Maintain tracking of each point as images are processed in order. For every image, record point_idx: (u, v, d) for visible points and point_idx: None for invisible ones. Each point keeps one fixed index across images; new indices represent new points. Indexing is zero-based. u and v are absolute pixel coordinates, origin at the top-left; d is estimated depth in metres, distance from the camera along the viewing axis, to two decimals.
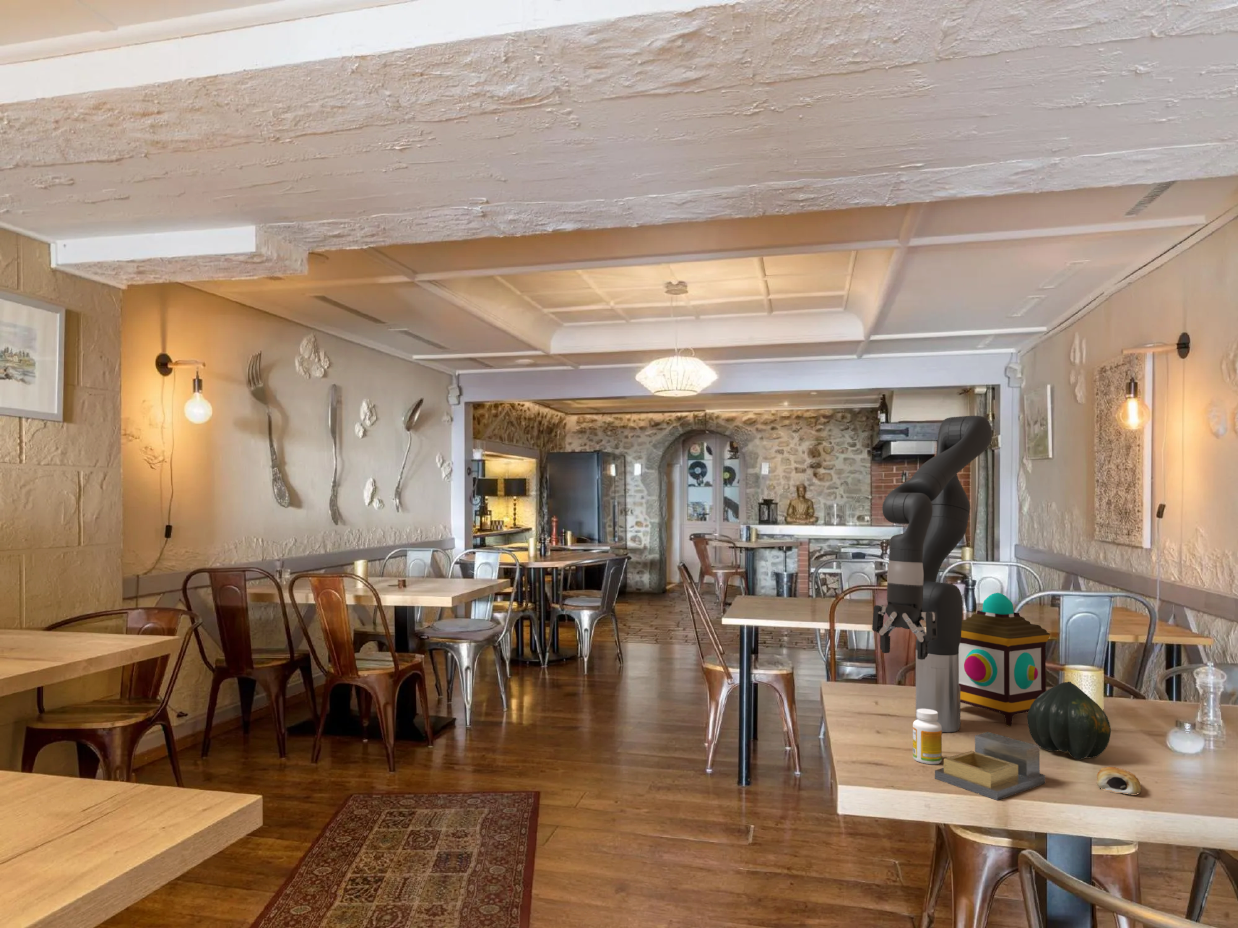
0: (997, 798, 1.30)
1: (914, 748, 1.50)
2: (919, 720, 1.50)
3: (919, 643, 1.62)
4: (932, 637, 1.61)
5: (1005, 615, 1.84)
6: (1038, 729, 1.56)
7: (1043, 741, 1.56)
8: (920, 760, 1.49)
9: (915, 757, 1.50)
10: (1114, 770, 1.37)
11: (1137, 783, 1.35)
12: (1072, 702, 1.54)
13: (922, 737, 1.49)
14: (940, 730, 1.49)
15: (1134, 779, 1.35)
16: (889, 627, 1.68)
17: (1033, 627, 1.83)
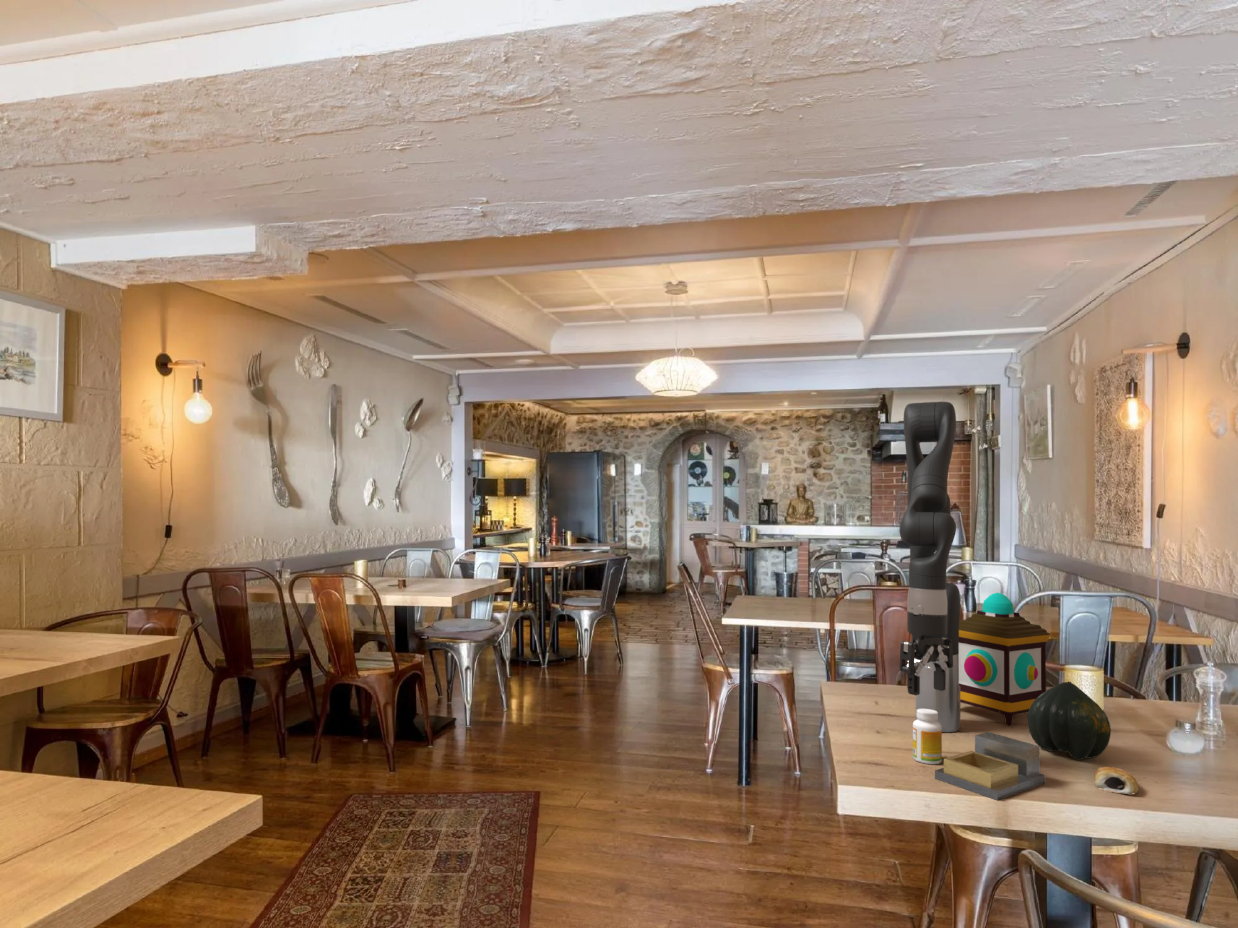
0: (997, 798, 1.30)
1: (914, 748, 1.50)
2: (919, 720, 1.50)
3: (944, 673, 1.53)
4: None
5: (1005, 615, 1.84)
6: (1038, 729, 1.56)
7: (1043, 741, 1.56)
8: (920, 760, 1.49)
9: (915, 757, 1.50)
10: (1111, 770, 1.37)
11: (1134, 783, 1.35)
12: (1072, 702, 1.54)
13: (922, 737, 1.49)
14: (940, 730, 1.49)
15: (1131, 779, 1.35)
16: None
17: (1033, 627, 1.83)
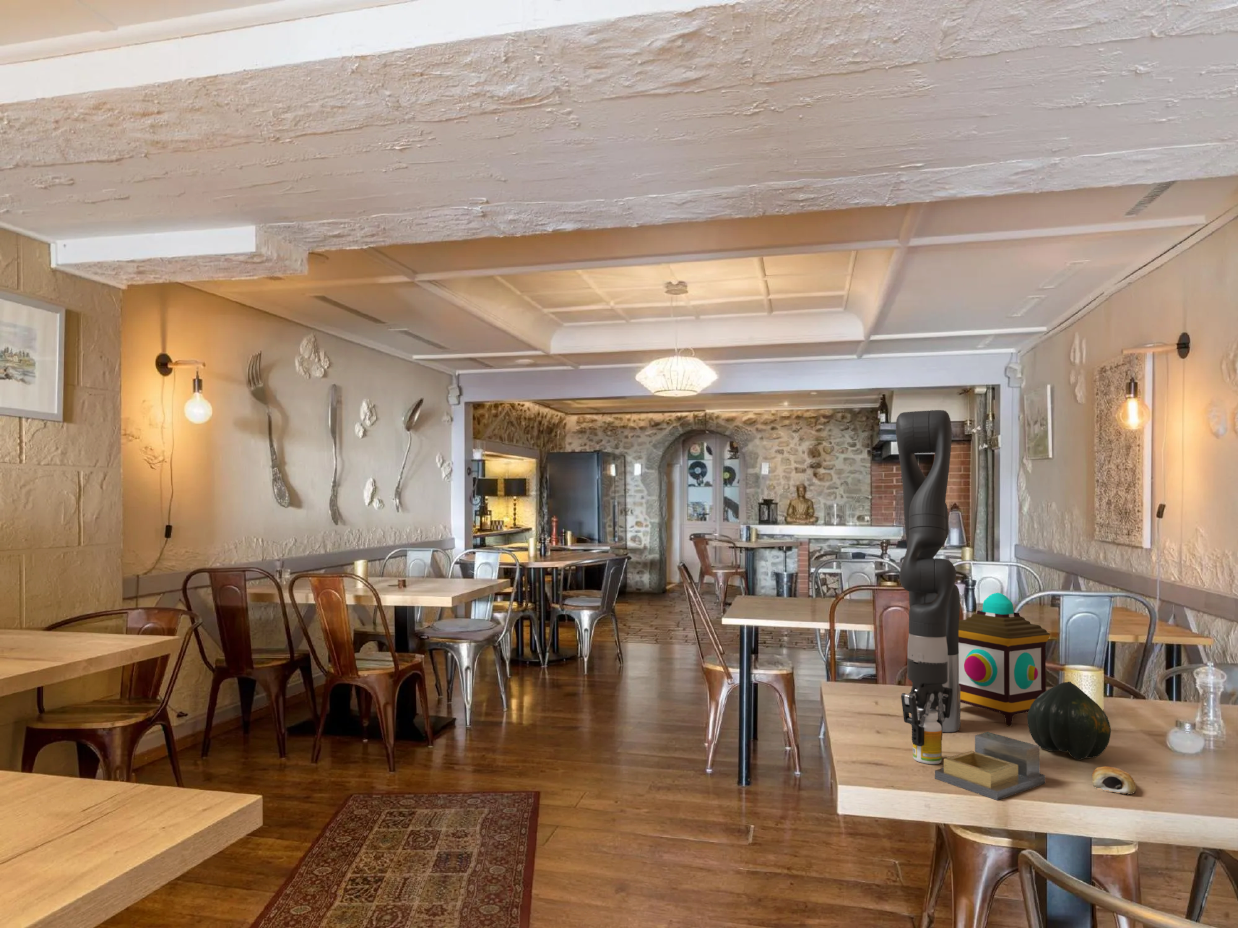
0: (997, 798, 1.30)
1: (914, 748, 1.50)
2: None
3: (941, 724, 1.52)
4: None
5: (1005, 615, 1.84)
6: (1038, 729, 1.56)
7: (1043, 741, 1.56)
8: (920, 760, 1.49)
9: (915, 757, 1.50)
10: (1109, 769, 1.38)
11: (1132, 782, 1.35)
12: (1072, 702, 1.54)
13: None
14: (940, 730, 1.49)
15: (1129, 778, 1.36)
16: None
17: (1033, 627, 1.83)
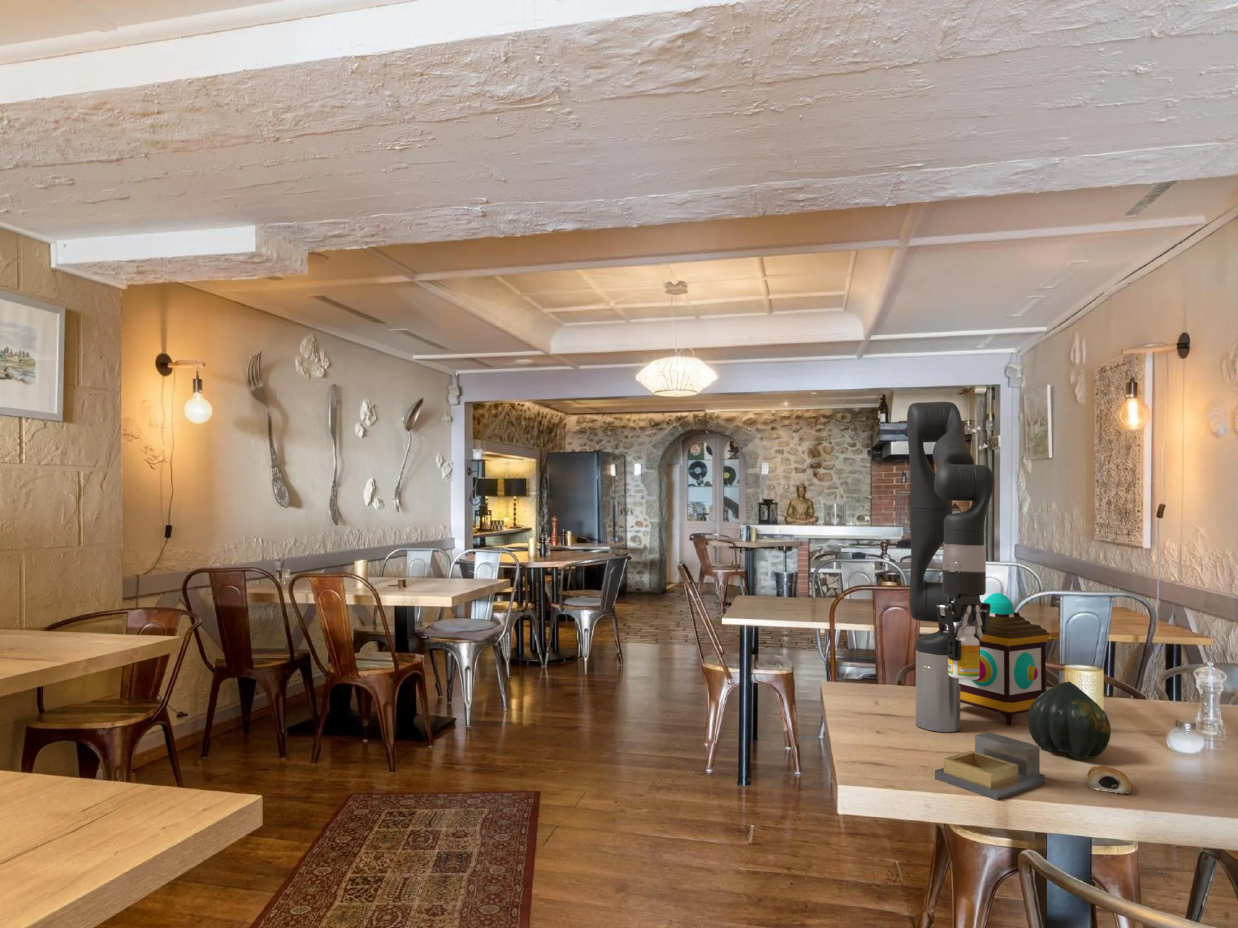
0: (997, 798, 1.30)
1: (950, 664, 1.42)
2: None
3: (979, 640, 1.43)
4: None
5: (1005, 615, 1.84)
6: (1038, 729, 1.56)
7: (1043, 741, 1.56)
8: (956, 675, 1.40)
9: (951, 673, 1.41)
10: (1105, 769, 1.38)
11: (1128, 782, 1.35)
12: (1072, 702, 1.54)
13: None
14: (978, 644, 1.40)
15: (1125, 778, 1.36)
16: None
17: (1033, 627, 1.83)
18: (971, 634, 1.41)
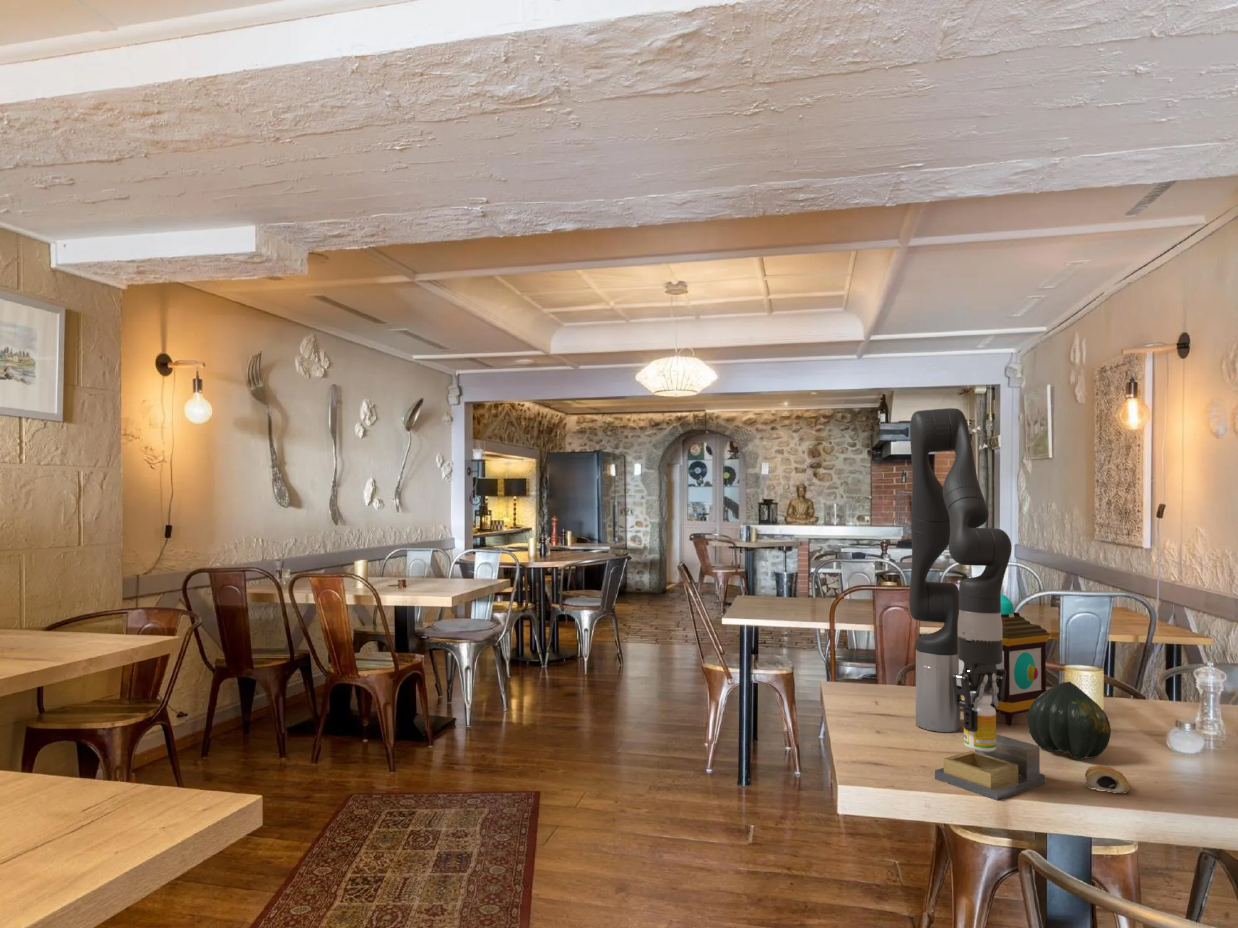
0: (997, 798, 1.30)
1: (966, 734, 1.38)
2: None
3: (995, 708, 1.40)
4: None
5: (1005, 615, 1.84)
6: (1038, 729, 1.56)
7: (1043, 741, 1.56)
8: (973, 746, 1.37)
9: (967, 744, 1.38)
10: (1103, 769, 1.38)
11: (1126, 781, 1.35)
12: (1072, 702, 1.54)
13: None
14: (995, 714, 1.37)
15: (1122, 778, 1.36)
16: None
17: (1033, 627, 1.83)
18: (988, 704, 1.37)
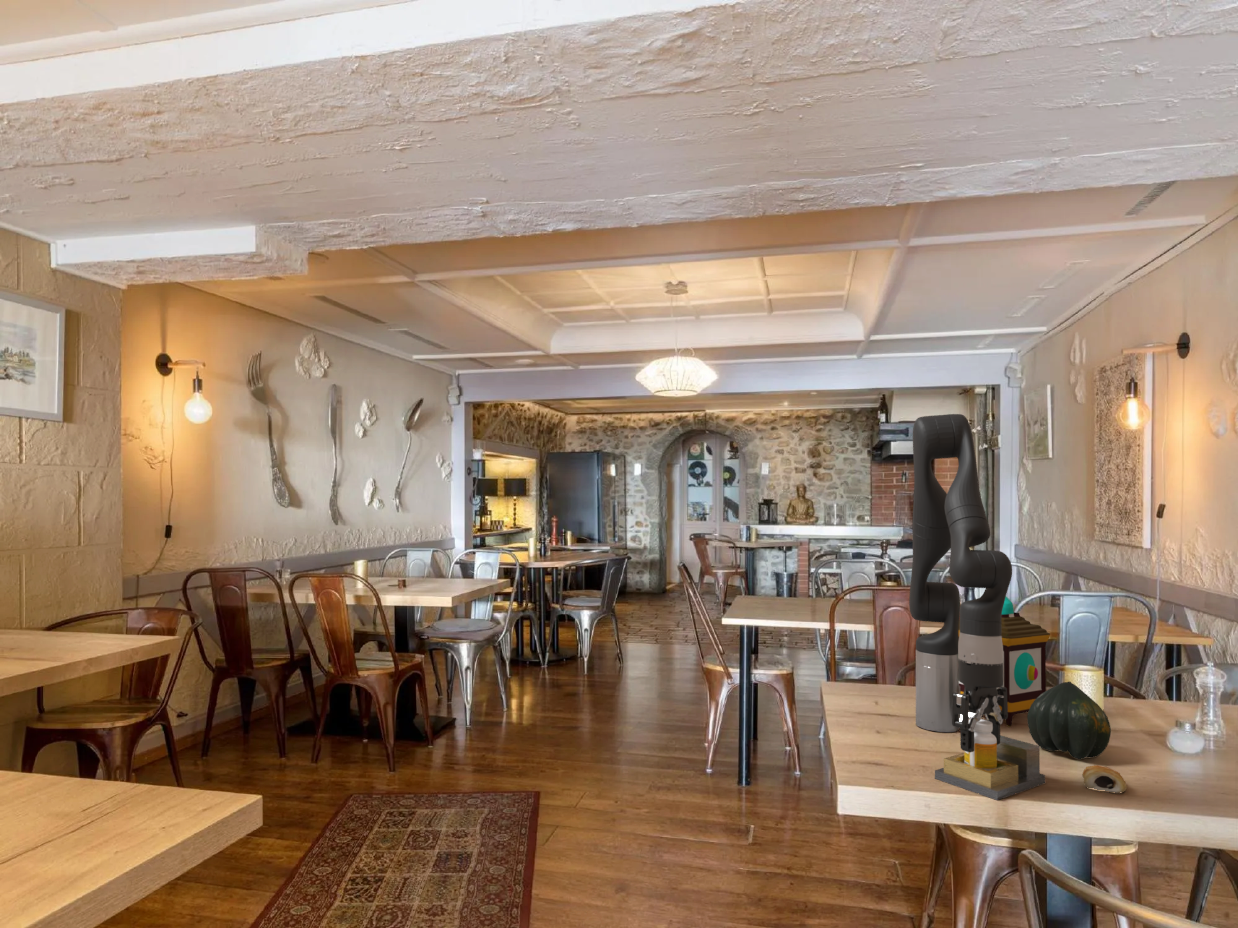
0: (997, 798, 1.30)
1: (966, 762, 1.38)
2: None
3: (999, 726, 1.40)
4: None
5: (1005, 615, 1.84)
6: (1038, 729, 1.56)
7: (1043, 741, 1.56)
8: None
9: None
10: (1100, 769, 1.38)
11: (1123, 781, 1.36)
12: (1072, 702, 1.54)
13: (976, 750, 1.36)
14: (995, 742, 1.37)
15: (1120, 777, 1.36)
16: None
17: (1033, 627, 1.83)
18: (988, 732, 1.37)
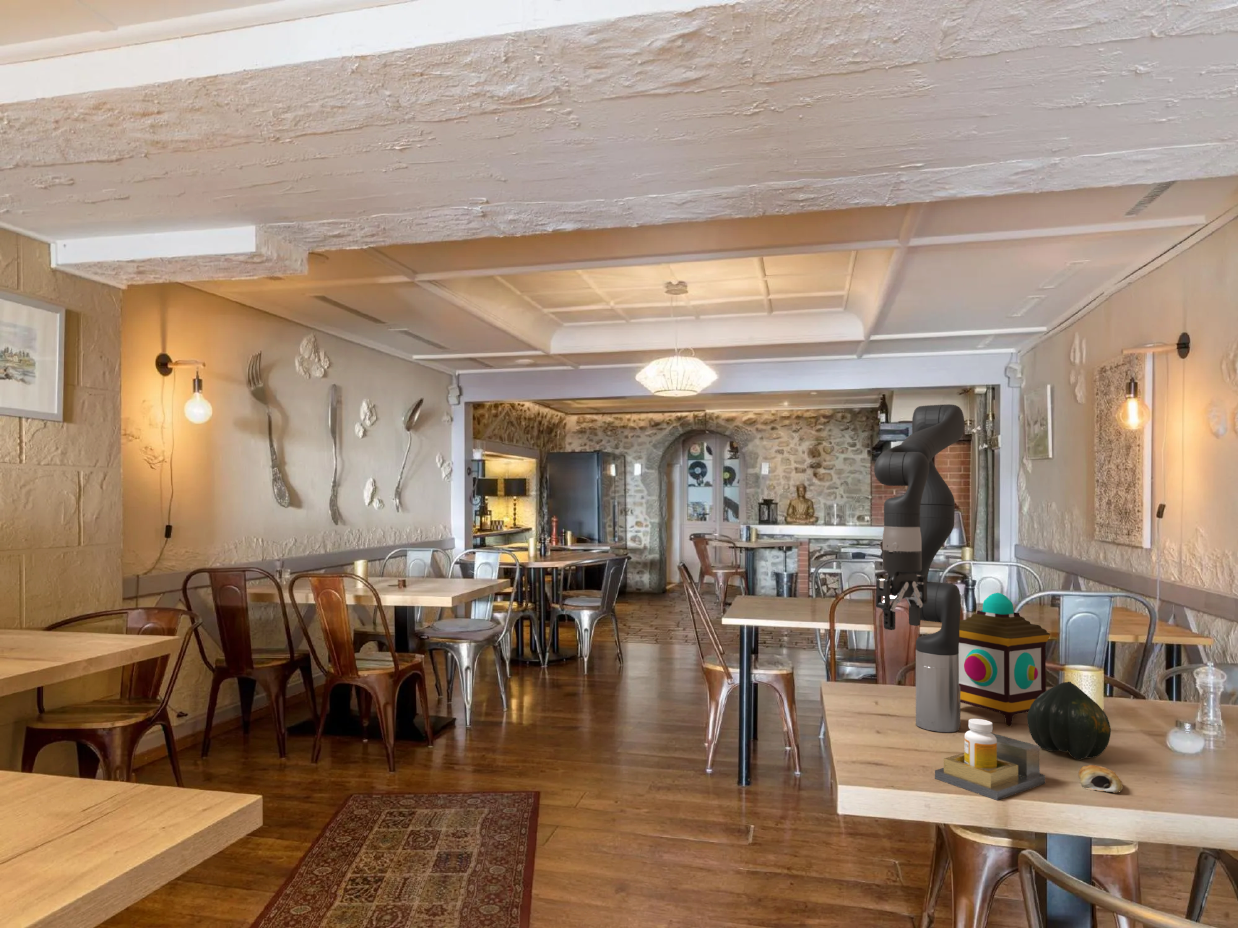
0: (997, 798, 1.30)
1: (966, 762, 1.38)
2: (972, 731, 1.38)
3: (919, 609, 1.56)
4: None
5: (1005, 615, 1.84)
6: (1038, 729, 1.56)
7: (1043, 741, 1.56)
8: None
9: None
10: (1096, 768, 1.38)
11: (1119, 781, 1.36)
12: (1072, 702, 1.54)
13: (976, 750, 1.36)
14: (995, 742, 1.37)
15: (1116, 777, 1.36)
16: None
17: (1033, 627, 1.83)
18: (988, 732, 1.37)
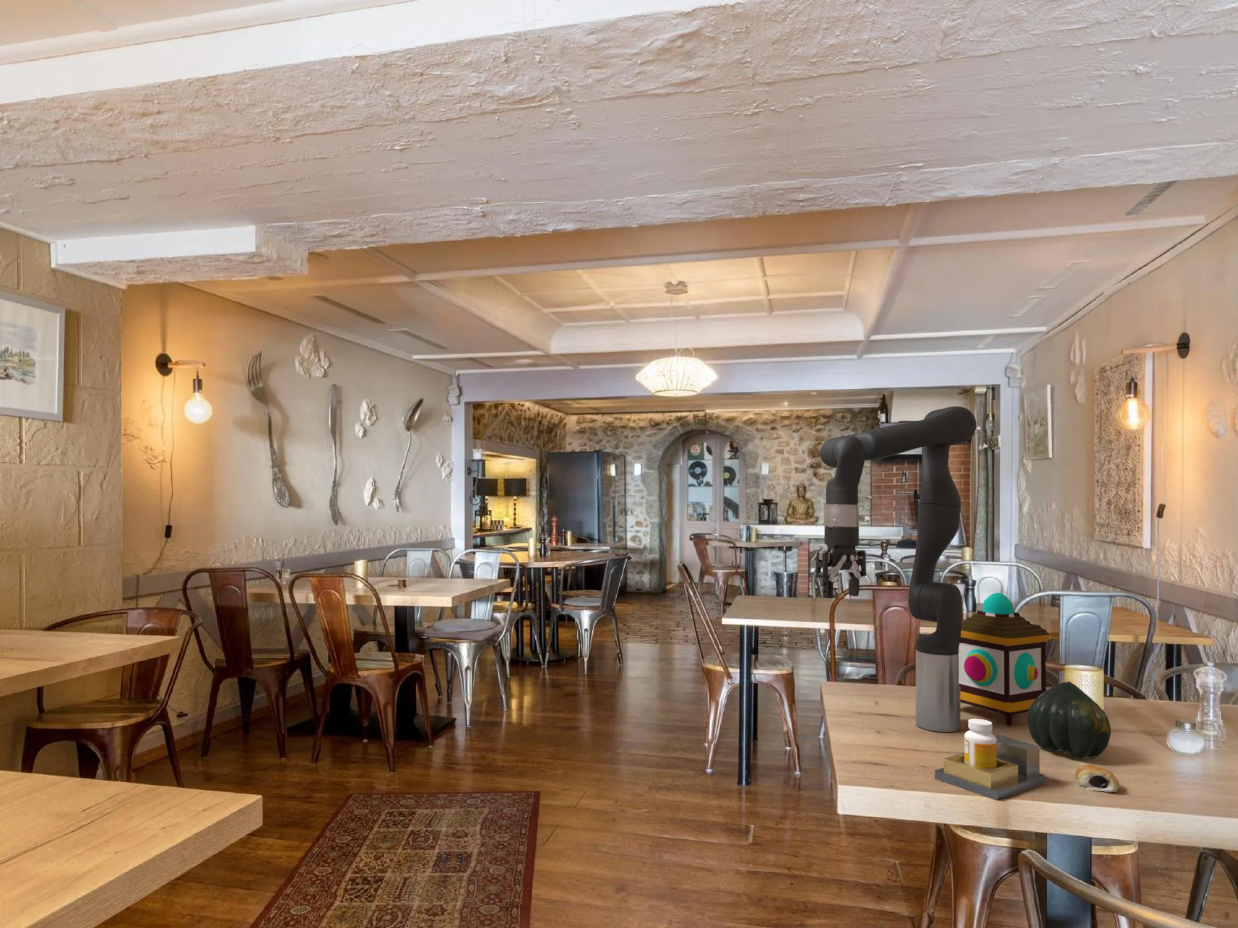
0: (997, 798, 1.30)
1: (966, 762, 1.38)
2: (972, 731, 1.38)
3: (857, 581, 1.71)
4: None
5: (1005, 615, 1.84)
6: (1038, 729, 1.56)
7: (1043, 741, 1.56)
8: None
9: None
10: (1093, 768, 1.38)
11: (1116, 780, 1.36)
12: (1072, 702, 1.54)
13: (976, 750, 1.36)
14: (995, 742, 1.37)
15: (1113, 776, 1.36)
16: None
17: (1033, 627, 1.83)
18: (988, 732, 1.37)
